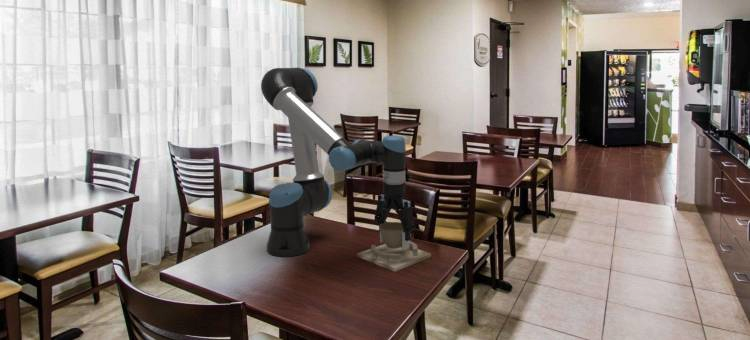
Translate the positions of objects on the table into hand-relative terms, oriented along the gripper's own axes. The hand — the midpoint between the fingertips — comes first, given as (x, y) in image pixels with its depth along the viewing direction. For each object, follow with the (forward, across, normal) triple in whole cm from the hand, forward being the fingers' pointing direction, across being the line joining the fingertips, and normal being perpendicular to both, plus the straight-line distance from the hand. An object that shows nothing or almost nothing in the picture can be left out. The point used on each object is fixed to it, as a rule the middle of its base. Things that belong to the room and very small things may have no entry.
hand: (394, 245), depth 170 cm
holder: (+4, 0, 0) cm, 4 cm away
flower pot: (0, 0, 0) cm, 0 cm away
